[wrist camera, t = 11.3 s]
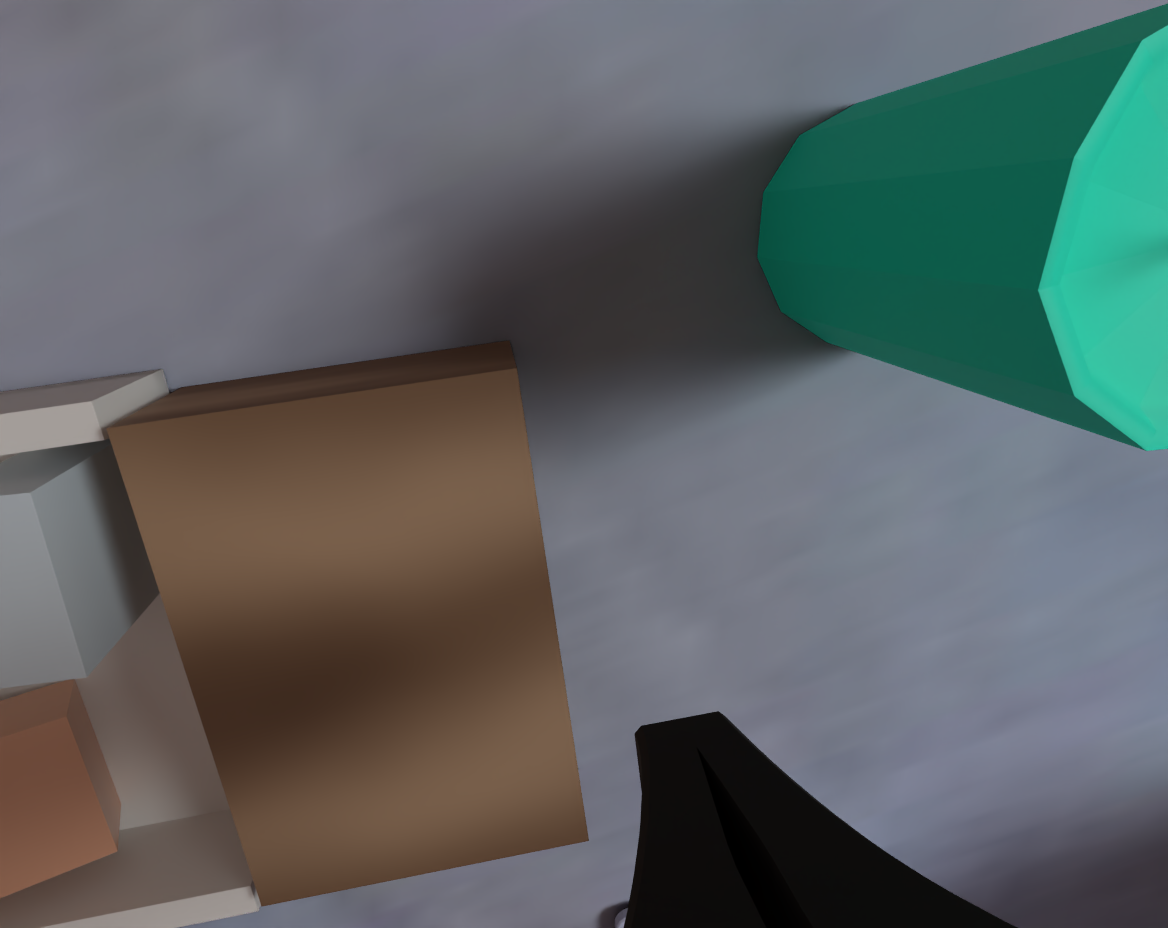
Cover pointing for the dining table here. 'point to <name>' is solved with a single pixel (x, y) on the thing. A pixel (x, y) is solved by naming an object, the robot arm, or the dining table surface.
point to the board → (362, 613)
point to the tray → (134, 729)
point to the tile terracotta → (52, 788)
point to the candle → (997, 229)
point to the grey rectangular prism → (67, 563)
